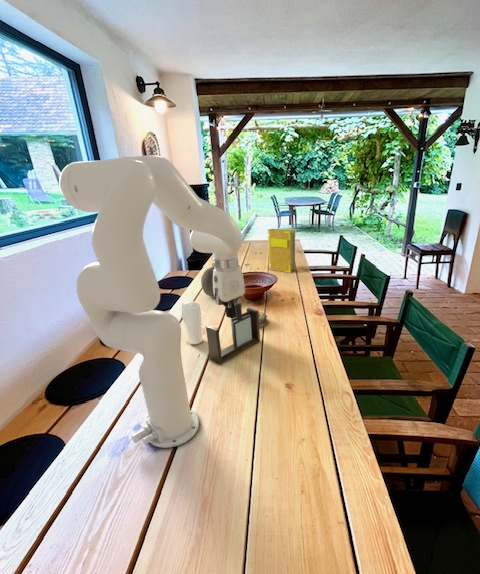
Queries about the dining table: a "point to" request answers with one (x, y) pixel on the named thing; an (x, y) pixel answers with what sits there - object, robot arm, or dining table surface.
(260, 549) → the dining table surface
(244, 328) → the sliding pane
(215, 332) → the window frame
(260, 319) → the cake
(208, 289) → the cantaloupe
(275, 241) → the book
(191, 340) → the drinking glass
